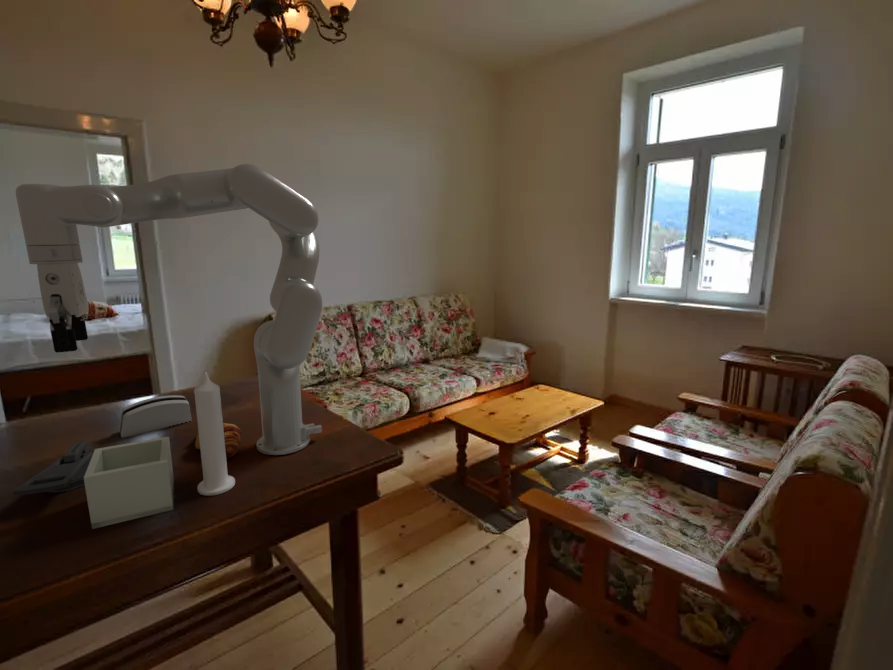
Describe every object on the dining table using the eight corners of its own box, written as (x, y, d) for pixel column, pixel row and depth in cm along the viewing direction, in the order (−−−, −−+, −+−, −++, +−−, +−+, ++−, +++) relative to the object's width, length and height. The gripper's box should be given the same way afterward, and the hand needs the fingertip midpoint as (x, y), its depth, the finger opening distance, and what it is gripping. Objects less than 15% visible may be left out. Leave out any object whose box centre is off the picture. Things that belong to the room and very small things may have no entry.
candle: (209, 499, 90) (197, 379, 85) (190, 488, 94) (177, 373, 89) (242, 484, 96) (232, 370, 91) (223, 474, 100) (212, 365, 95)
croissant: (197, 448, 119) (178, 426, 116) (231, 423, 124) (214, 401, 120) (221, 479, 104) (200, 455, 100) (259, 448, 109) (240, 425, 105)
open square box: (173, 479, 97) (168, 436, 95) (173, 509, 87) (167, 461, 85) (102, 494, 91) (95, 449, 89) (92, 529, 81) (83, 477, 79)
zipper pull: (5, 493, 80) (58, 436, 102) (12, 526, 81) (63, 463, 104) (68, 483, 83) (106, 430, 106) (74, 515, 85) (110, 456, 107)
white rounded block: (187, 415, 132) (187, 387, 127) (192, 425, 129) (193, 397, 124) (117, 432, 120) (115, 401, 116) (121, 443, 117) (119, 412, 113)
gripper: (70, 256, 78) (88, 353, 81) (90, 252, 92) (104, 334, 96) (12, 258, 74) (33, 359, 78) (42, 253, 89) (58, 338, 93)
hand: (72, 345), depth 87 cm, fingers open, 9 cm apart
